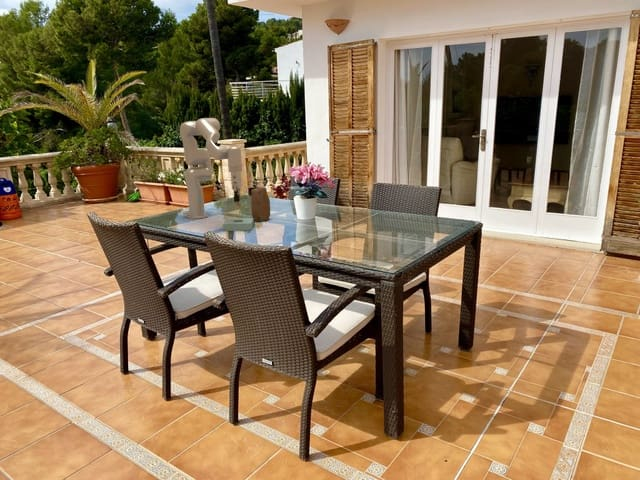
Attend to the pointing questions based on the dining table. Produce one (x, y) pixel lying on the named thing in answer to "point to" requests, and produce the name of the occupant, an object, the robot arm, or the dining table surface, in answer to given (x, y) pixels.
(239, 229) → the socket board
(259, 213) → the brown upright rounded piece
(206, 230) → the dining table surface
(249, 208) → the glass holder
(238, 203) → the peg
